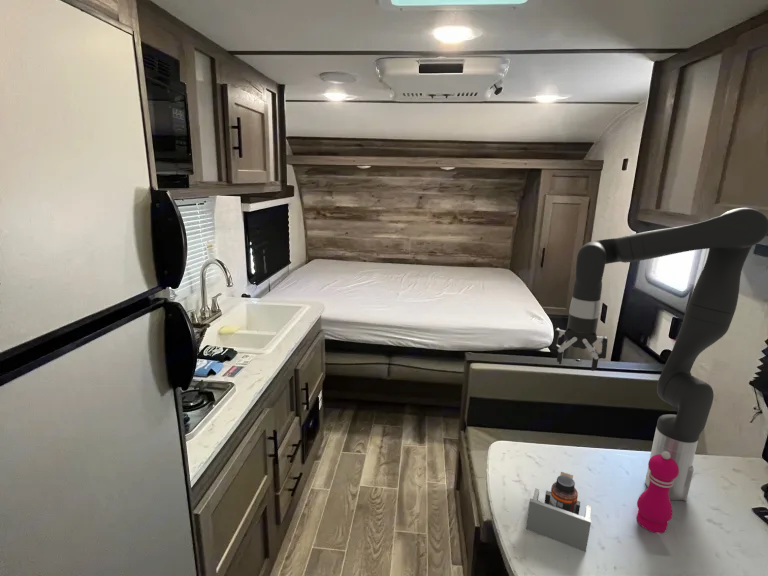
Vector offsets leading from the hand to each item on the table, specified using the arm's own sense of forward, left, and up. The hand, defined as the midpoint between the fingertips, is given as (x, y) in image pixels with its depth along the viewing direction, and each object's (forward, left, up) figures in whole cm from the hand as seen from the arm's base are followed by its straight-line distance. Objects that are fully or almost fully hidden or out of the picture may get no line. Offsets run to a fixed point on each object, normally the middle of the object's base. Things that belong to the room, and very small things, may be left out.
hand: (576, 366), depth 124 cm
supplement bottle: (-2, +30, -28) cm, 41 cm away
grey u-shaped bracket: (-2, +32, -28) cm, 42 cm away
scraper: (-2, +22, -28) cm, 36 cm away
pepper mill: (-22, +20, -28) cm, 41 cm away
